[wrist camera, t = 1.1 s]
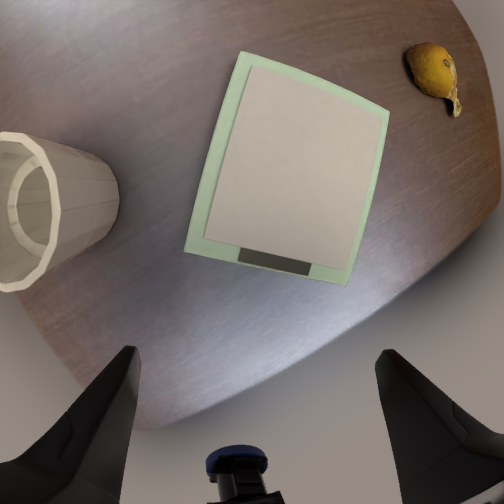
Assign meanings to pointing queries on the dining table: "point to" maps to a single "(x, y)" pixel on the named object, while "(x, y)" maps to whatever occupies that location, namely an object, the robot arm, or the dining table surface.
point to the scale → (288, 173)
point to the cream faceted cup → (49, 206)
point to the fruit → (434, 72)
